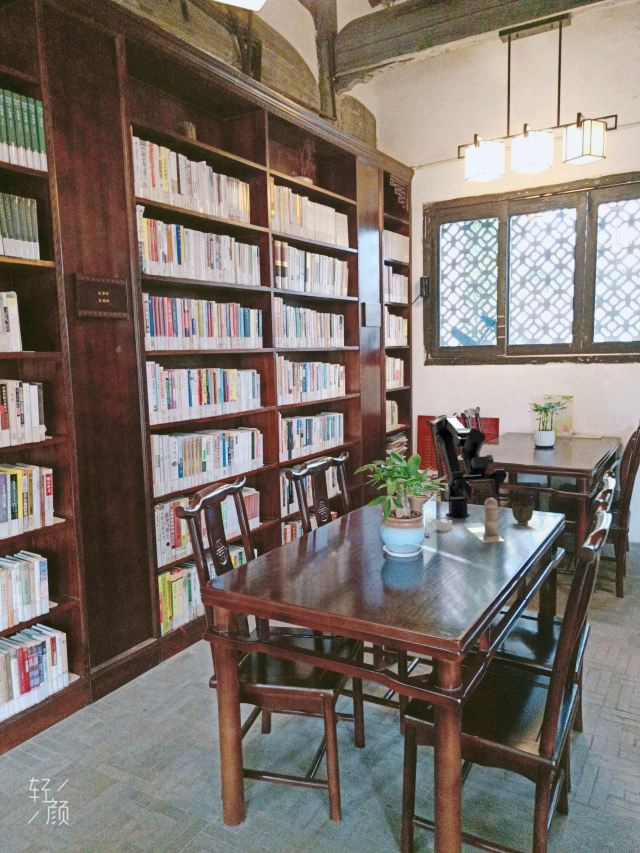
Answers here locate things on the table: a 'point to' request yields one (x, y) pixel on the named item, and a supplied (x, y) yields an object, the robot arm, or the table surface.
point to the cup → (522, 512)
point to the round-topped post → (491, 520)
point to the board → (478, 530)
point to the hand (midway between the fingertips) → (484, 499)
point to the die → (444, 525)
